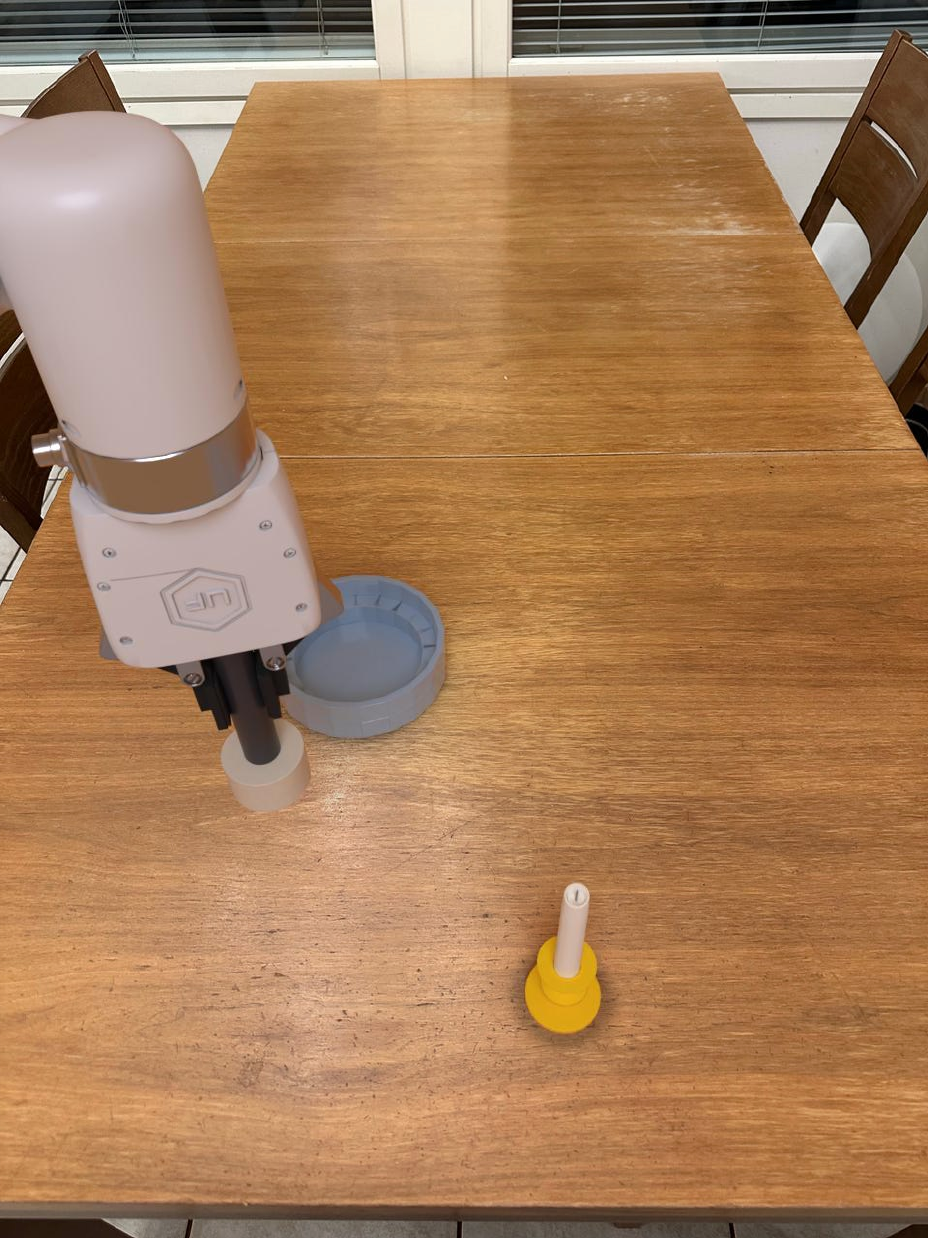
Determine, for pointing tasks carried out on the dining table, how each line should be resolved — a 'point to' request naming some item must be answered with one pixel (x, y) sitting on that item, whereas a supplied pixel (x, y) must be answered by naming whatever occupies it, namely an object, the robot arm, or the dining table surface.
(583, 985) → the candle
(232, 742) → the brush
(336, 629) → the bowl
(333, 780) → the dining table surface
